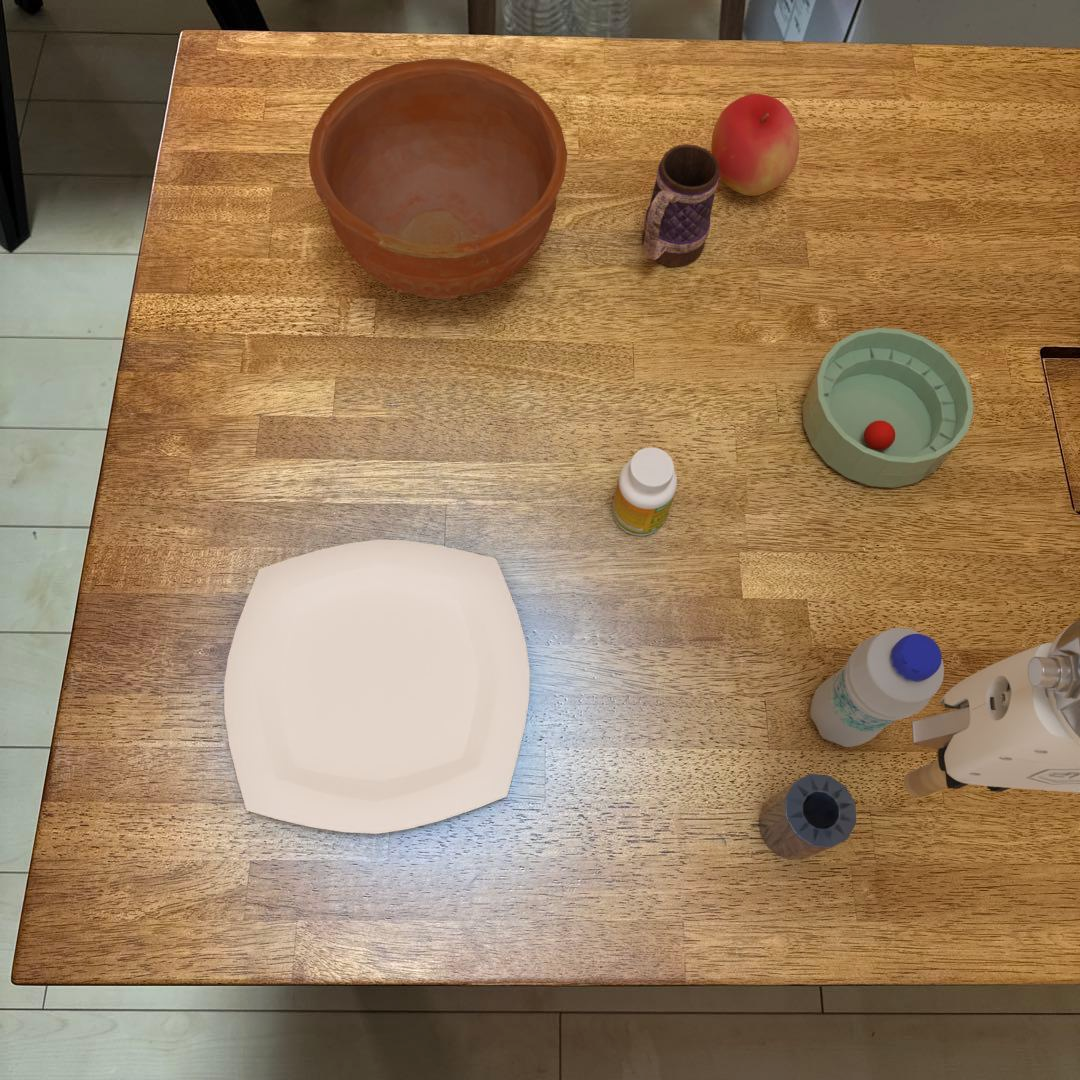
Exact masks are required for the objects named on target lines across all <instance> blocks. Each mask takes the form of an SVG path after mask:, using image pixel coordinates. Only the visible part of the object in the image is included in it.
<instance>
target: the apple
mask: <svg viewBox="0 0 1080 1080" xmlns="http://www.w3.org/2000/svg"><path fill="white" fill-rule="evenodd" d="M799 135H800V134H799V131H798V125H797V123H796V121H795V118H794V116H793V114H792V112H791V111H790V109H789V108H788V107H787V106H786V104H784V103H783V102H782V101H781V100H779V99H778V98H775V97H773V96H770V95H767V94H761V93H751V94H747V95H744V96H741V97H739V98H736V99H735V100H733V101H732V102H730V103H729V104H728V105H727V106H726V107H725V108H724V109H723V110H722V112H721V113H720V114H719V116H718V118H717V119H716V123H715V124H714V128H713V131H712V136H711V145H710V146H711V147H710V148H711V149H710V150H711V153H712V154H713V156H714V157H715V158H716V159H717V162H718V165H719V179H721V180H722V182H723V183H724V184H725V185H726V186H727V187H728V188H730V189H731V190H733V191H734V192H737V193H739V194H740V195H744V196H751V197H752V196H753V197H756V196H760V195H763V194H766V193H768V192H770V191H772V190H775V188H777V187H778V186H780V185H781V184H783V183H785V181H786V180H787V179H789V177H790V176H791V175H792V173H793V172H794V170H795V167H796V165H797V163H798V162H797V161H798V158H799V153H800V136H799Z"/></svg>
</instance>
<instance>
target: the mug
mask: <svg viewBox="0 0 1080 1080" xmlns="http://www.w3.org/2000/svg"><path fill="white" fill-rule="evenodd" d="M719 179H720V176H719V165H718V162H717V159H716V158H715V157H714V156H713V154H712V152H710V151H709V150H708V149H706V148H705V147H701V146H699V145H696V144H678V145H676V146H674V147H673V146H672V147H670V149H668V150H667V151H666V152H665V153H664V154H663V156H662V158H661V160H660V162H659V164H658V167H657V170H656V178H655V183H654V186H653V191H652V195H651V198H650V201H649V205H648V207H647V209H646V212H645V216H644V220H643V231H642V237H641V242H642V254H644V256H645V257H646V258H647V259H649V260H653V261H655V262H657V263H659V264H662V265H665V266H669V267H681V266H686V265H690V264H691V263H694V262H695V261H696V260H697V259H699V257H700V256H701V255H702V254H703V253H702V252H703V251H704V248H705V243H706V240H707V239H708V236H709V232H710V228H711V216H712V215H711V214H712V209H713V204H714V201H715V196H716V191H717V188H718V185H719Z"/></svg>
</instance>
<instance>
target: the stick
mask: <svg viewBox="0 0 1080 1080" xmlns="http://www.w3.org/2000/svg"><path fill="white" fill-rule="evenodd" d="M902 781H903V783H902V784H903V788H904V791H905V792H906V793H907V794H908V795H909V796H911V797H913V798H916V799H919V798H920V799H921V798H923V797H926V796H930V795H933V794H934V793H938V792H940V791H944V790H946V789H949V788H948V787H947V784H946V774H945V771H942V770H941V769H940V767H939V763H938V759H936V760H934V761H932V762H930V763H927V764H925V765H923V766H921V767H918V768H916V769H914V770H911V771H909V772H908V773H906V774H905V775H904V777H903V780H902Z"/></svg>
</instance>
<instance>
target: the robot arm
mask: <svg viewBox="0 0 1080 1080" xmlns="http://www.w3.org/2000/svg"><path fill="white" fill-rule="evenodd" d="M939 703H940V705H942V706H944V709H946V710H947V709H948V710H949V709H950V711H947V712H946V711H945V712H943V713H938V714H934V715H931V716H927V717H923V718H919V719H916V720H913V721H911V731H912V733H911V734H912V742H913V746H917V747H922V748H923V747H924V748H929V749H933V750H934V749H935V750H937V760H938V763H939V767H940V769H941V770H942V771H945V774H946V784H947V787H948V788H947V789H954V790H958V789H961V788H964V787H966V786H968V785H973V786H983V787H986V788H987V789H988V790H990V791H991V792H995V793H1001V792H1004V791H1007V790H1010V789H1020V790H1033V791H1034V790H1035V791H1046V792H1063V793H1079V794H1080V618H1078V619H1077V620H1076V621H1074V622H1072V623H1071V624H1069V625H1068V626H1067V627H1065V628H1064V629H1063V630H1062V631H1061V632H1060V633H1059V634H1058V636H1057V637H1056V638H1055V639H1054V641H1050V642H1046V643H1042V644H1038V645H1037V646H1034V647H1031V648H1028V649H1026V650H1023V651H1020V652H1018V653H1015V654H1013V655H1011V656H1008V657H1006V658H1004V659H1001V660H998V661H997V662H994V663H992V664H990V665H988V666H986V667H984V668H982V669H980V670H978V671H976V672H974V673H972V674H970V675H969V676H967V677H965V678H964V679H962V680H960V681H959V682H957V683H956V684H955V685H953V686H952V687H951V688H950V689H948V691H946V692H945V694H944V695H943V696H942V698H941V699H940V700H939Z"/></svg>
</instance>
